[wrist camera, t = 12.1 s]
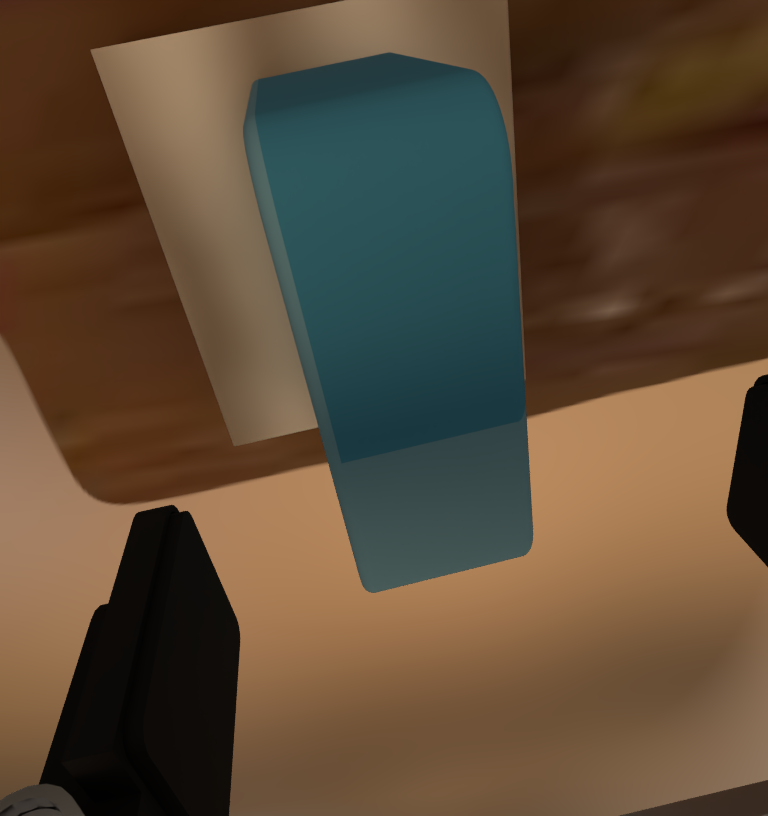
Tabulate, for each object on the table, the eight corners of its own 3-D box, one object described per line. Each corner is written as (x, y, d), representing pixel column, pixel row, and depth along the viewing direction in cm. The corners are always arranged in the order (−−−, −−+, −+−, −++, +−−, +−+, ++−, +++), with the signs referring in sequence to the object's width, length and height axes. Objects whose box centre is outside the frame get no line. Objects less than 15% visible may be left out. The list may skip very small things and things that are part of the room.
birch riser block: (463, -21, 24) (506, -31, 20) (491, 332, 32) (525, 379, 28) (122, 45, 23) (90, 49, 19) (238, 389, 31) (234, 446, 27)
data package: (434, 369, 27) (538, 580, 17) (330, 394, 26) (371, 622, 16) (388, 48, 20) (512, 71, 10) (249, 77, 20) (235, 129, 10)
